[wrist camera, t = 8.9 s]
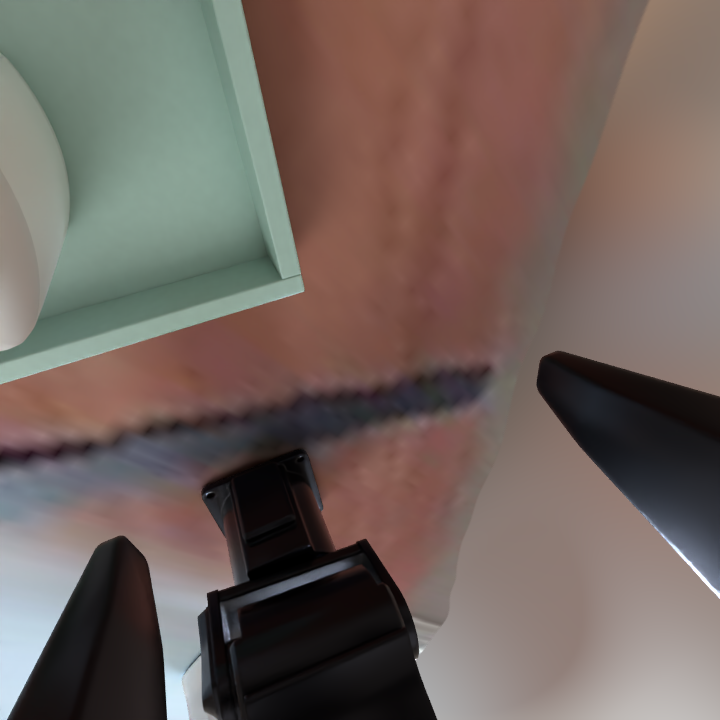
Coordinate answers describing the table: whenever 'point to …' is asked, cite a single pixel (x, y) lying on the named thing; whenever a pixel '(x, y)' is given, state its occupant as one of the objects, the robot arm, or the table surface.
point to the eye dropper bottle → (27, 206)
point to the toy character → (194, 692)
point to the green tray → (150, 171)
